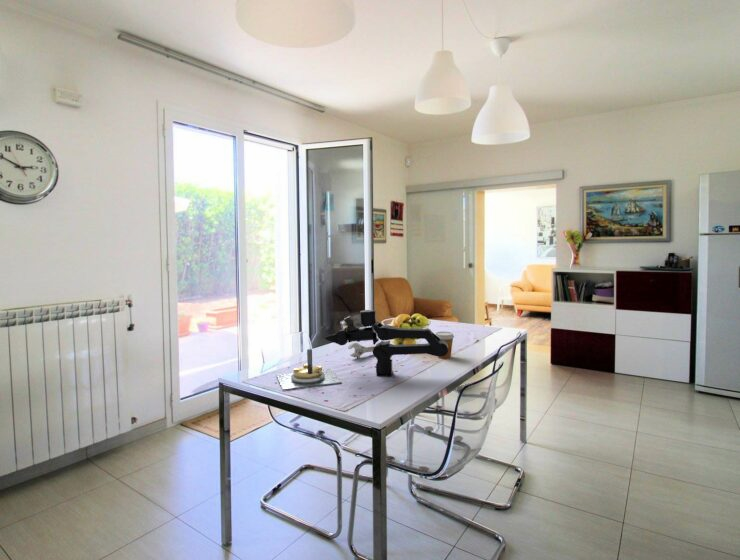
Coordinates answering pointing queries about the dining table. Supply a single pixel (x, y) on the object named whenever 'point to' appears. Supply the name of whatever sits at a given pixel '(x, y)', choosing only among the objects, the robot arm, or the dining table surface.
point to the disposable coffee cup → (447, 338)
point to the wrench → (360, 349)
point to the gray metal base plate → (307, 380)
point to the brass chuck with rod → (308, 369)
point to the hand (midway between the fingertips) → (328, 336)
